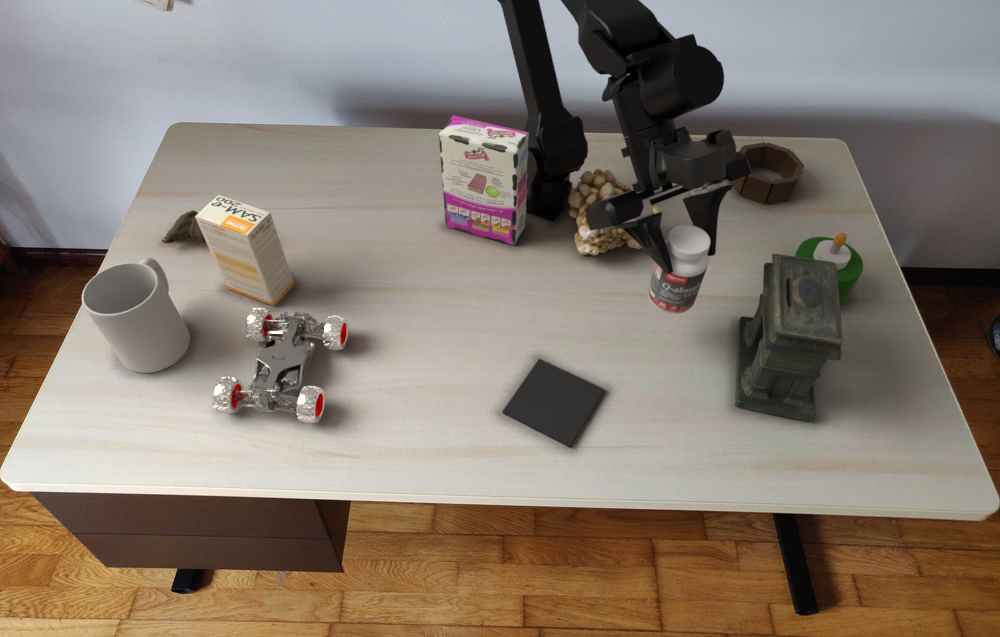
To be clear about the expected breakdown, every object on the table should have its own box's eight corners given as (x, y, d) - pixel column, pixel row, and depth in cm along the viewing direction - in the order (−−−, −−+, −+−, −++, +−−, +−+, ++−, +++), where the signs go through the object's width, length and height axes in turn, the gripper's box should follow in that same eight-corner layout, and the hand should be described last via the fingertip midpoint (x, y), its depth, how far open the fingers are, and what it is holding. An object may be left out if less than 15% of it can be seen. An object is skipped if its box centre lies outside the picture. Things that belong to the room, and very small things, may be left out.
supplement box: (296, 284, 95) (273, 211, 85) (274, 308, 92) (248, 235, 82) (247, 265, 97) (219, 192, 87) (224, 288, 94) (192, 215, 84)
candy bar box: (526, 225, 103) (531, 131, 90) (514, 247, 100) (518, 153, 87) (457, 206, 106) (452, 112, 93) (443, 227, 102) (437, 133, 90)
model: (733, 322, 91) (768, 239, 80) (805, 334, 90) (851, 251, 78) (734, 410, 83) (773, 331, 71) (814, 424, 81) (866, 345, 70)
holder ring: (721, 189, 108) (728, 169, 105) (741, 156, 114) (748, 135, 111) (783, 211, 105) (792, 191, 102) (801, 176, 111) (810, 155, 108)
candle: (771, 282, 96) (795, 228, 88) (808, 256, 99) (835, 202, 91) (822, 319, 92) (852, 266, 84) (859, 291, 95) (891, 237, 87)
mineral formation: (575, 270, 97) (545, 196, 105) (660, 264, 101) (624, 193, 109) (592, 229, 91) (558, 154, 99) (682, 224, 95) (641, 153, 103)
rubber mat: (502, 413, 82) (502, 411, 82) (538, 360, 87) (539, 358, 87) (570, 448, 79) (570, 446, 79) (604, 391, 84) (604, 389, 84)
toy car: (318, 431, 80) (309, 407, 76) (218, 419, 81) (204, 395, 77) (352, 330, 90) (345, 304, 86) (262, 321, 91) (251, 295, 87)
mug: (179, 374, 85) (144, 317, 77) (109, 373, 85) (67, 315, 77) (207, 301, 93) (178, 241, 85) (143, 300, 93) (108, 240, 85)
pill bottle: (654, 318, 82) (671, 259, 75) (641, 282, 86) (656, 223, 78) (701, 312, 83) (722, 254, 75) (686, 278, 86) (705, 218, 79)
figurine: (162, 252, 100) (238, 258, 98) (147, 230, 96) (226, 235, 94) (181, 221, 104) (256, 226, 102) (168, 198, 100) (244, 203, 98)
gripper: (614, 137, 65) (663, 293, 68) (766, 86, 71) (806, 231, 73) (564, 158, 76) (607, 293, 78) (700, 112, 82) (736, 239, 84)
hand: (690, 264), depth 78 cm, fingers closed on pill bottle, 5 cm apart
